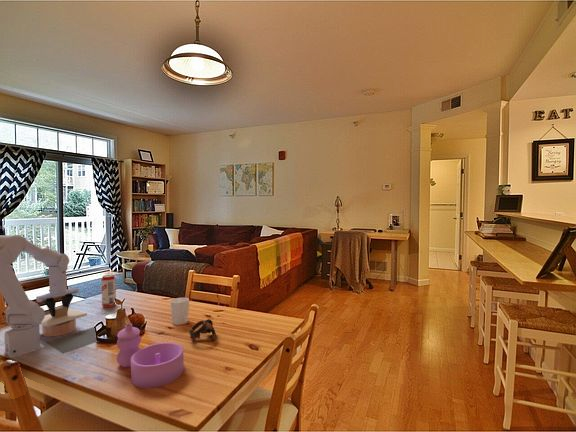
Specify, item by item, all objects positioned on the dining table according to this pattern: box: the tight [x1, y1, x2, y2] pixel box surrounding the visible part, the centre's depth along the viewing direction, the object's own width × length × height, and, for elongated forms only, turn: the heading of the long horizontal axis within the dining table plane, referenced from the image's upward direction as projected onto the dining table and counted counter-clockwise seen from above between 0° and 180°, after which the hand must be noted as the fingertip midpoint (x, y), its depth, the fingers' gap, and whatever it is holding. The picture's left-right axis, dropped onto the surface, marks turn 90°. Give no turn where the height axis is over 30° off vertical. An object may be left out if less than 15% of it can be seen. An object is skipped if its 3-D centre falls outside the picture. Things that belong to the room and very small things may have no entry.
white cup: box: [169, 297, 190, 326], centre depth 137 cm, size 8×8×10 cm
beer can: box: [100, 274, 117, 309], centre depth 158 cm, size 6×6×16 cm
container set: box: [116, 323, 185, 389], centre depth 98 cm, size 25×15×13 cm, turn 64°
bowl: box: [41, 319, 77, 337], centre depth 127 cm, size 11×11×4 cm
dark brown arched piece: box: [188, 318, 218, 342], centre depth 121 cm, size 12×10×8 cm
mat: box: [46, 326, 99, 354], centre depth 120 cm, size 18×16×1 cm
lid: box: [40, 305, 88, 327], centre depth 127 cm, size 14×14×4 cm
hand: (59, 314), depth 127 cm, fingers closed on lid, 4 cm apart
